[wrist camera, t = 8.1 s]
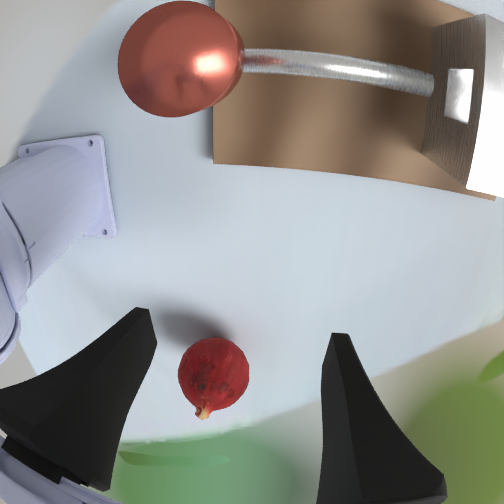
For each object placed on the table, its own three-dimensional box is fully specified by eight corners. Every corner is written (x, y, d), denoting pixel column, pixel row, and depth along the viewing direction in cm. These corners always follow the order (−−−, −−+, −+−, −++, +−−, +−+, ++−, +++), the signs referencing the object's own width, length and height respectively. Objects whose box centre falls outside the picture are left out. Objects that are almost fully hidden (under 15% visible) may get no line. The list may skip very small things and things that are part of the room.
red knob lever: (182, 102, 16) (119, 120, 10) (182, 31, 14) (118, 12, 8) (401, 120, 15) (458, 147, 9) (407, 47, 12) (468, 35, 7)
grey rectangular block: (420, 153, 16) (466, 188, 11) (432, 27, 12) (485, 13, 7) (453, 160, 16) (504, 197, 11) (466, 39, 11) (525, 34, 6)
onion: (188, 313, 26) (156, 388, 19) (255, 321, 25) (239, 403, 19) (195, 356, 29) (172, 425, 22) (254, 364, 28) (241, 438, 22)
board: (216, 160, 19) (213, 163, 18) (219, -23, 13) (216, -27, 12) (489, 196, 17) (494, 201, 16) (510, 36, 11) (516, 36, 10)
